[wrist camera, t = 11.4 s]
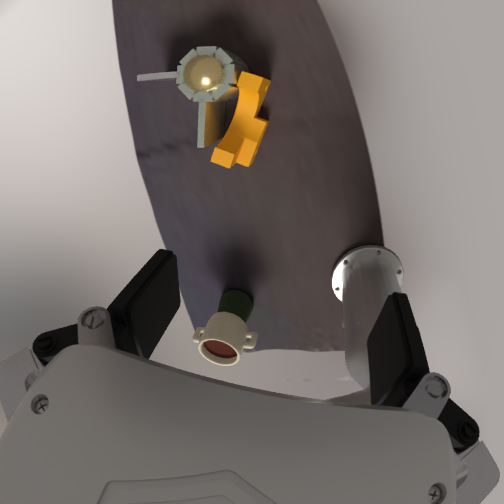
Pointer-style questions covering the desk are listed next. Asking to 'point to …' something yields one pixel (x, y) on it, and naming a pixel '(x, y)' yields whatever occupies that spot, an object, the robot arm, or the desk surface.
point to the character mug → (227, 330)
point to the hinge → (209, 101)
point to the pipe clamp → (244, 124)
